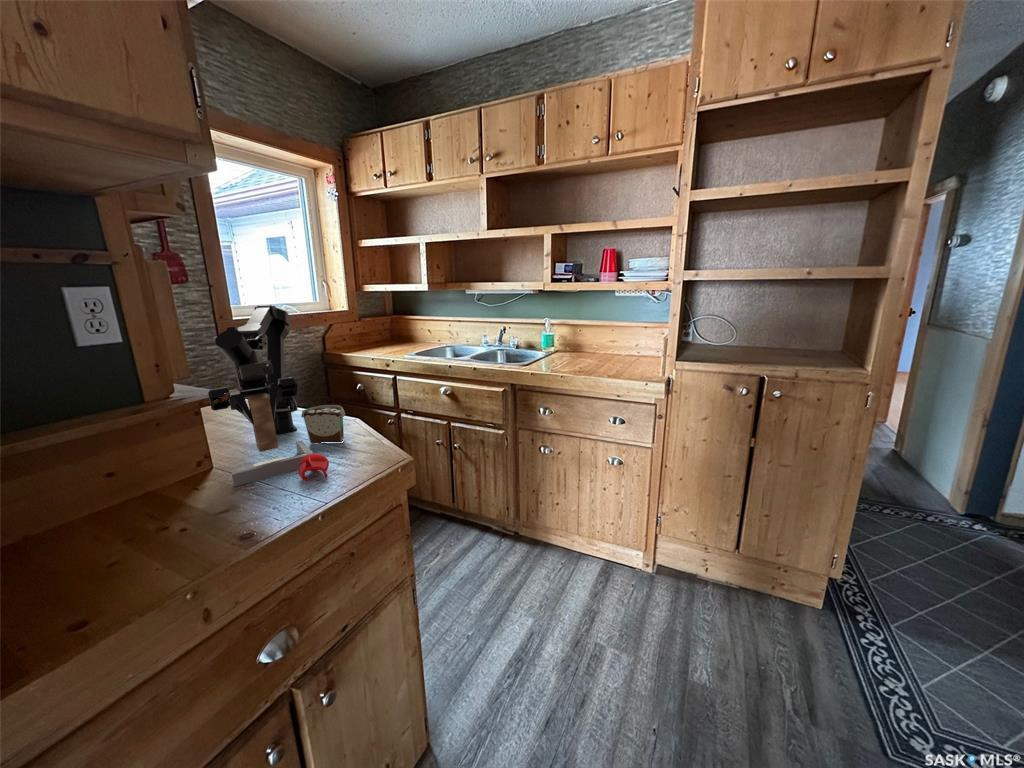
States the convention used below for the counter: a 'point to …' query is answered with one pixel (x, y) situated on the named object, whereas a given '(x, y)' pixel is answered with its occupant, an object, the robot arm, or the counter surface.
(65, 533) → the counter surface
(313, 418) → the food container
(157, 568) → the counter surface
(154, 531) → the counter surface
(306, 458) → the cap
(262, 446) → the walnut block
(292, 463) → the grey long angled bar
